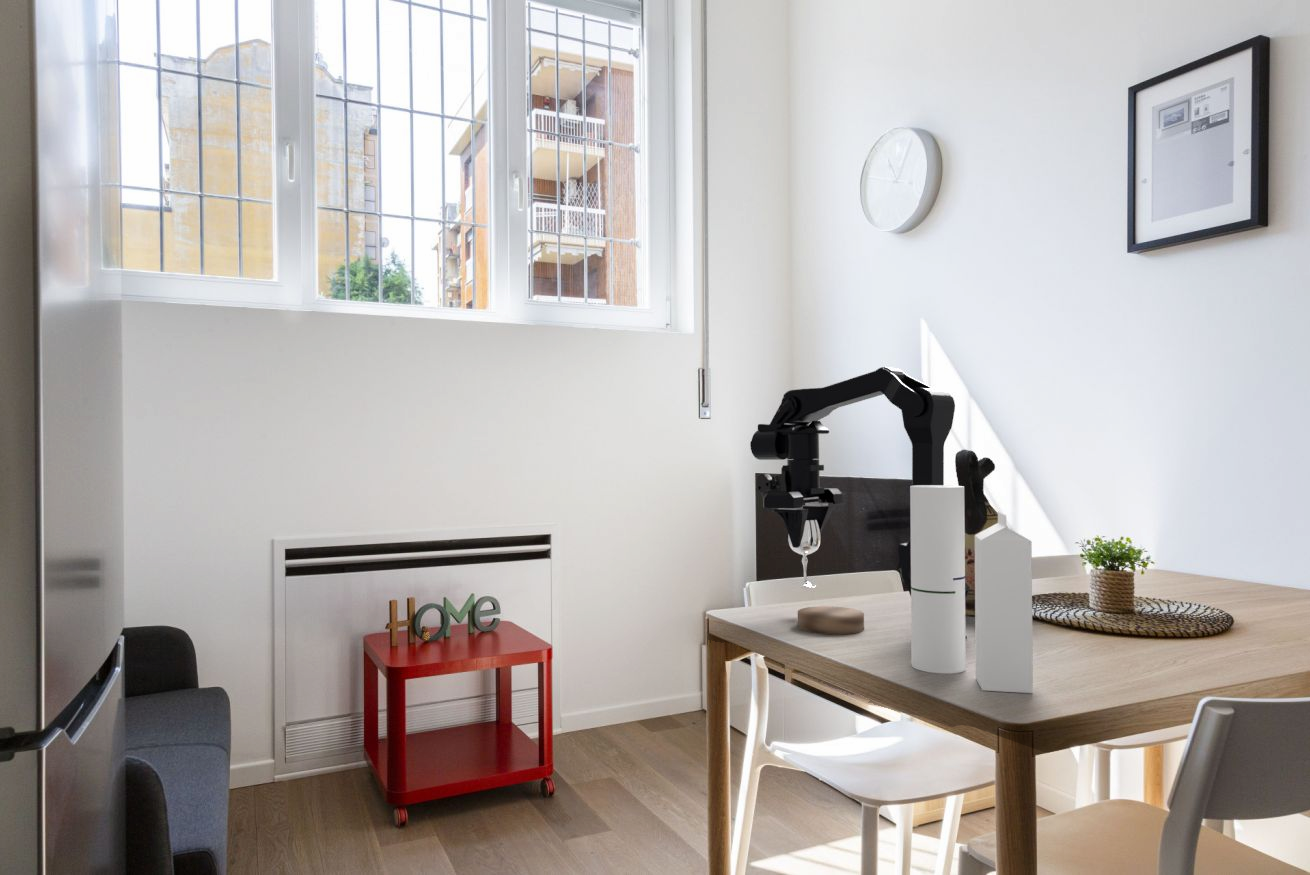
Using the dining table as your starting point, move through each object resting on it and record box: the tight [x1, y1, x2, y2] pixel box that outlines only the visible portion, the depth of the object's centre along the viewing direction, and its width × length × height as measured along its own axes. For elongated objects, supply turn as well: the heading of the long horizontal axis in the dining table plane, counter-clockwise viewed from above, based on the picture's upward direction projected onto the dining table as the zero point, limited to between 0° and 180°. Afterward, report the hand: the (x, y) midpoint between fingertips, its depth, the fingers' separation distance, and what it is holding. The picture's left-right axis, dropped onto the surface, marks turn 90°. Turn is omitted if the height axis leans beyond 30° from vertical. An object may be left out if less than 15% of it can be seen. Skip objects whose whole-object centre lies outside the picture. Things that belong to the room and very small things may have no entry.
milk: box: [974, 511, 1034, 694], centre depth 109 cm, size 6×6×22 cm
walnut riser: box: [797, 605, 865, 635], centre depth 144 cm, size 11×11×2 cm
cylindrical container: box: [909, 484, 967, 675], centre depth 119 cm, size 7×7×25 cm
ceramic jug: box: [954, 449, 1008, 616], centre depth 157 cm, size 17×15×30 cm
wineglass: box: [787, 518, 821, 589], centre depth 154 cm, size 6×6×12 cm
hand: (804, 545), depth 154 cm, fingers closed on wineglass, 6 cm apart
